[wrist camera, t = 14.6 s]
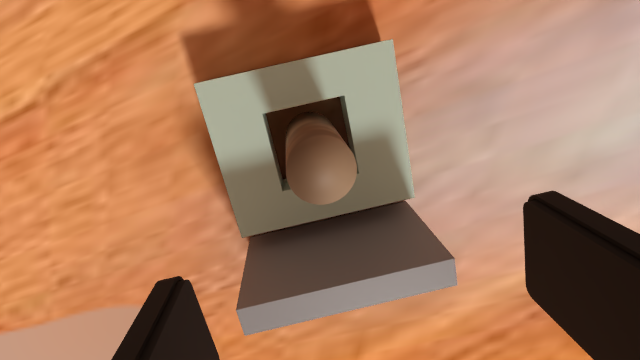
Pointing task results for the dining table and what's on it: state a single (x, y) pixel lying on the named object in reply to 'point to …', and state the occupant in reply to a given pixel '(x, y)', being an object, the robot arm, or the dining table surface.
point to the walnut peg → (318, 160)
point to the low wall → (340, 267)
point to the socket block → (298, 89)
